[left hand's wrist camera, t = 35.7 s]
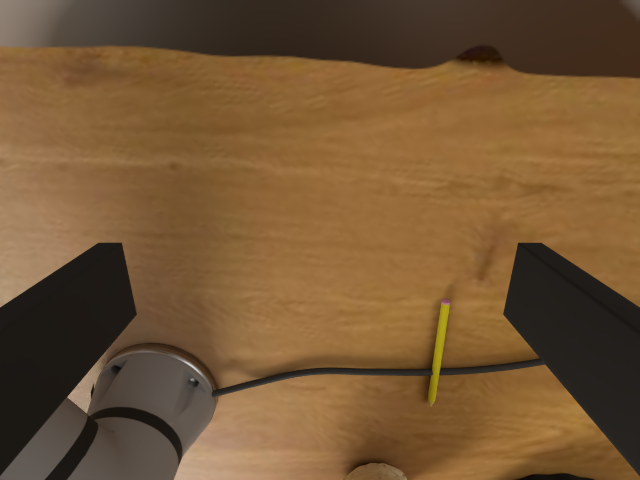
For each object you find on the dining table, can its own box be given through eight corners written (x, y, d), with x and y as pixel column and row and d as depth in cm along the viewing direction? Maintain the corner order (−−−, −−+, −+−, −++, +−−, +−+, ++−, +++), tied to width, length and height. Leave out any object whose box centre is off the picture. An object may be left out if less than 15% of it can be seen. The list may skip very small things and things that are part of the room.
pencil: (440, 298, 44) (443, 303, 43) (448, 298, 44) (451, 303, 43) (425, 404, 50) (427, 410, 49) (432, 404, 50) (434, 410, 49)
